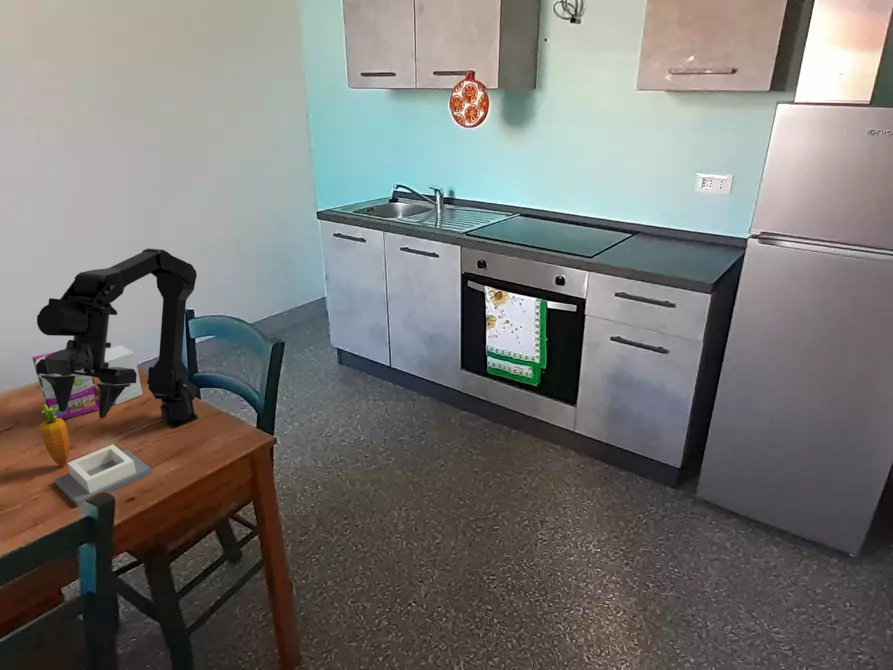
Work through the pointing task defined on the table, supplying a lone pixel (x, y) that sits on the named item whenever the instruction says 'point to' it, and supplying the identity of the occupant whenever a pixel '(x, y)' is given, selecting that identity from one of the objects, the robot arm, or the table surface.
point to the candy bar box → (80, 398)
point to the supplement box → (124, 359)
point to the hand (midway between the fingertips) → (82, 414)
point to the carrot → (55, 436)
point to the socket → (101, 473)
